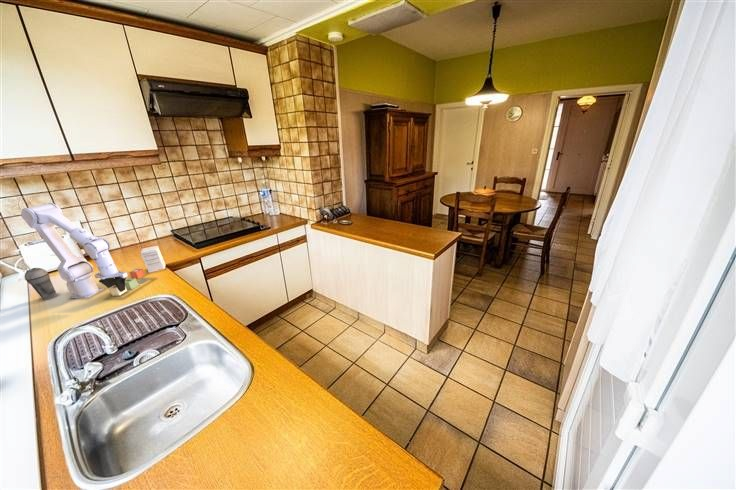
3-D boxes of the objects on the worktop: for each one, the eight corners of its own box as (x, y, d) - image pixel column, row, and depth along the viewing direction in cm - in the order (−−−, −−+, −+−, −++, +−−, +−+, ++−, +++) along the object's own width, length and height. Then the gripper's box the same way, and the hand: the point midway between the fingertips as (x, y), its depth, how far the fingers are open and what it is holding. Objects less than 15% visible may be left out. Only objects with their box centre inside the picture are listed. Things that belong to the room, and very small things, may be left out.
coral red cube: (132, 279, 141) (129, 272, 139) (138, 275, 144) (135, 268, 143) (139, 279, 140) (135, 272, 139) (145, 275, 144) (142, 268, 142)
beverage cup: (63, 294, 129) (41, 257, 122) (42, 302, 123) (17, 264, 116) (57, 291, 132) (35, 255, 125) (36, 299, 126) (11, 262, 119)
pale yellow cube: (112, 295, 124) (108, 288, 122) (120, 290, 128) (116, 283, 126) (119, 295, 124) (115, 288, 122) (127, 290, 127) (124, 283, 126)
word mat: (106, 298, 124) (105, 297, 124) (139, 279, 140) (139, 278, 140) (123, 298, 123) (122, 297, 123) (155, 278, 139) (154, 278, 139)
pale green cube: (124, 289, 130) (120, 282, 128) (131, 285, 133) (128, 278, 132) (131, 289, 129) (128, 282, 128) (138, 285, 133) (135, 278, 131)
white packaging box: (150, 268, 152) (142, 248, 147) (166, 264, 155) (158, 245, 150) (148, 273, 146) (139, 252, 141) (164, 269, 149) (156, 249, 144)
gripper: (82, 269, 117) (96, 295, 122) (111, 269, 115) (124, 295, 121) (98, 262, 123) (111, 287, 129) (126, 261, 122) (138, 287, 127)
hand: (118, 290), depth 125 cm, fingers closed on pale yellow cube, 4 cm apart
